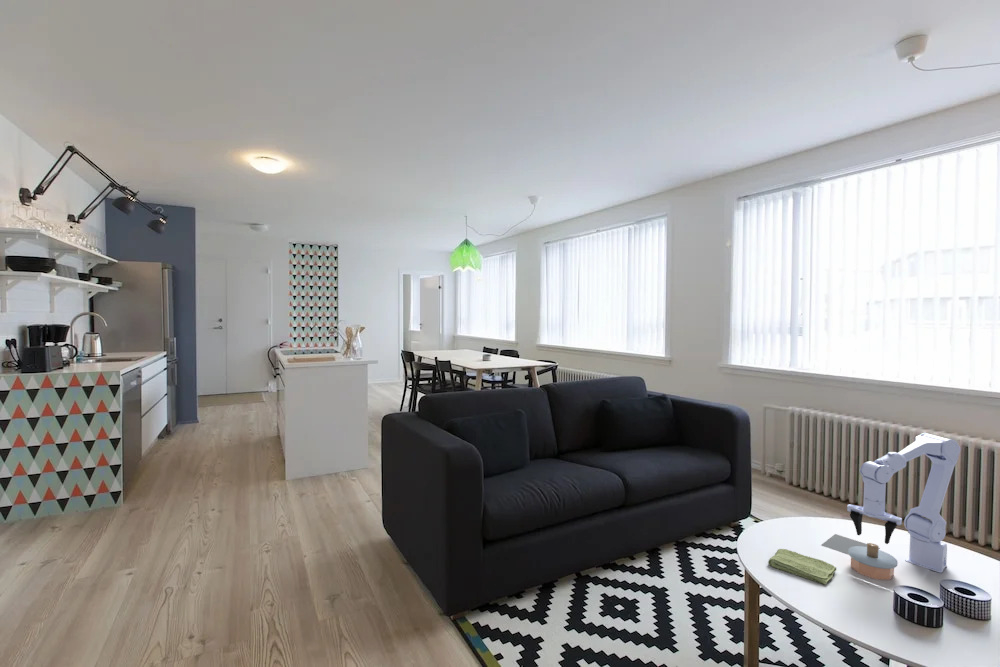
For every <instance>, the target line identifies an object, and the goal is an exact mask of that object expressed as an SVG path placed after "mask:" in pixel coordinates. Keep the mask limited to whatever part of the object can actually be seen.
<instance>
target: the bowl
mask: <svg viewBox="0 0 1000 667" xmlns="http://www.w3.org/2000/svg"><path fill="white" fill-rule="evenodd" d="M850 567H851V568H852V569H853V570H854V571H855V572H857V574H860V575H863V576H865V577H869V578H870V579H871V578H872V579H874V580H886V581H887V580H888V581H889V580H891V579H892V578H893V577H894V575H895V568H892V569H883V568H876V567H872V566H868V565H865V564H863V563H860V562H858V561H856V560H854V559H853V558H852V557H850Z"/></svg>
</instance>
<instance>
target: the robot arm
mask: <svg viewBox="0 0 1000 667" xmlns="http://www.w3.org/2000/svg"><path fill="white" fill-rule="evenodd" d="M960 453H961V447H960V445H959V443H958V441H956V440H955V439H953V438H946V437H942V436H939V435H935V434H930V432H929V433H927V432H923V433H919V435H917V436H915V439H914V441H913V442H912V443H910V444H908V445H907V446H905V447H904V448H902V449H901V450H900V451H898V452H896V451H889V452H887V453H886V454H885V455H883V456H881V457H878V458H877V459H875V460H874V461H870V460H869V461H866V462H864V463H862V465H861V467H860V468H859V474H860V475H861V478H862V482H863V502H862V503H863V506H861V505H855V504H847V506H846V510H847V512H850V513H849V517H850V519H851V521H852V522H853V524H854V527H855V532H856V535H857V536H861V535H862V530H863V529H862V528H863V527H862V525H863V524H862V523H863V516H866V517H870V518H873V519H874V518H875V519H878V520H881V521H886V522H885V523H884V528H885V529H884V532H885V536H884V544H886V545H888V544H890V540H891V538H892V534H893V533H894V531H895V529H896V528H897V526H901V525H902V524H903V525H904V528H905V529H906V530H908V531H907V534H908V535H909V553H908V556H907V557H906V558H905V560H904V561H905V562H907V563H909V564H912V565H916V566H919V567H922V568H925V569H928V570H930V571H934V572H936V573H940V574H942V573H943V571H945V569H946V567H947V566H948V565H947V559H948V545H947V543H945V542H942V541H943V540H944V539H945V537H946V534H947V531H946V527H947V521H946V520H945V519H944V518H943V516H942V515H941V514H940V513H941V509H942V506H943V504H944V500H945V496H946V493H947V490H948V487H949V484H950V481H951V479H952V475H953V472H954V468H955V466H956V465H957V462H958V460H959V456H960ZM923 455H925V456H926V457H927V458H929V459H930V461H931V462H932V465H931V468H930V471H929V474H928V478H927V481H926V482H925V487H924V489H923V492H922V497H921V498H920V499H921V500H920V502H919V505H918V506H915V507H913V508H910V510H909V512H908V514H907V515H906V516H905V517H904V520H903V518H902V517H899V516H896V515H894V514H892V513H888V512H887V511H886V491H887V490H886V488H887V487H886V486H887V484H886V483H889V482H890V480H891V478H892V477H893V476H894V475H895V474H896V473H898V472H899V471H901V470H903V469H905V468H906V467H907V462H909V461H911V460H913V459H916V458H918V457H921V456H923Z"/></svg>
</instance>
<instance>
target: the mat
mask: <svg viewBox="0 0 1000 667" xmlns="http://www.w3.org/2000/svg"><path fill="white" fill-rule="evenodd" d="M821 546H822V547H825V548H828V549H831V550H834V551H837V552H839V553H843V554H845V555H849V554H848V549H849V548H850V547H854V546H863V547H867V543H865V542H861V541H860V540H859V541H858V540H856V539H852V538H849V537H846V536H843V535H840V534H836V533H834V534H833V535H832V536H830V537H829V538H828V539H827V540H826V541H824V542H823V543H822V544H821ZM878 550H881V548H880V547H878ZM849 556H850V555H849Z"/></svg>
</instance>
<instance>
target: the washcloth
mask: <svg viewBox="0 0 1000 667" xmlns="http://www.w3.org/2000/svg"><path fill="white" fill-rule="evenodd" d="M767 564H768V565H769V566H770V567H772V568H774V569H778V570H780V571H782V572H786V573H789V574H792V575H794V576H798V577H802V578H805V579H806V580H807V579H808V580H810V581H813V582H816V583H818V584H821V585H827V583H828V581H829V580H831V579H832V578H833V576H834V573H835V572H836V571H837V567H836V566H834V565H833V564H830V563H828V562H826V561H824V560H822V559H818V558H815V557H811V556H808V555H804V554H801V553H798V552H796V551H792V550H789V549H786V548H778V549H777V550H776V552H775V553H774V555H773V556H771V557H770V558H769V559H768V562H767Z"/></svg>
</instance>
